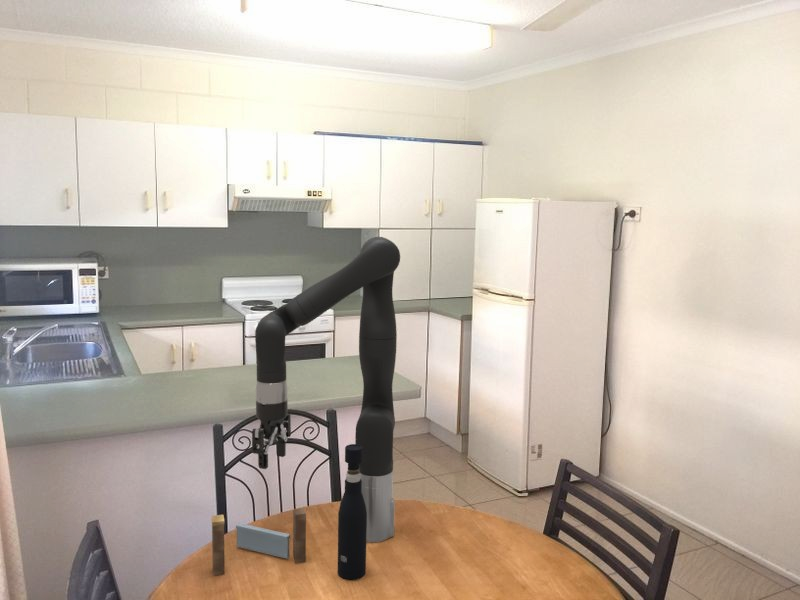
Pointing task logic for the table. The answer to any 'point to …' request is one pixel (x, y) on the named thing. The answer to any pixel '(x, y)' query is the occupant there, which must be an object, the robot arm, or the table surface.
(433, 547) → the table surface
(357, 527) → the black water bottle
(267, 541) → the gate
